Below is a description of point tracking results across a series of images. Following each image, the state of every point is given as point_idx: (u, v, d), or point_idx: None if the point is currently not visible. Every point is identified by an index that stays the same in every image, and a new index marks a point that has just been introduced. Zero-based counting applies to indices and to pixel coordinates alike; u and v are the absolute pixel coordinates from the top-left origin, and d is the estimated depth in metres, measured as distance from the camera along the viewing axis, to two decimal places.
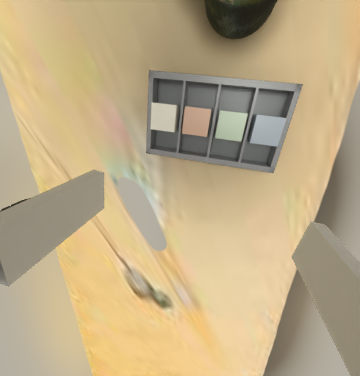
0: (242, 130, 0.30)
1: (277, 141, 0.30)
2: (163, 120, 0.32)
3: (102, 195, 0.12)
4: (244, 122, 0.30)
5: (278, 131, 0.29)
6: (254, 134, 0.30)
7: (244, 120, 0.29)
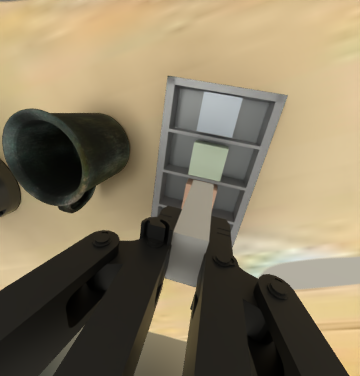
0: (214, 148, 0.23)
1: (235, 99, 0.21)
2: None
3: None
4: (204, 146, 0.23)
5: (220, 99, 0.21)
6: (221, 132, 0.22)
7: (202, 146, 0.23)
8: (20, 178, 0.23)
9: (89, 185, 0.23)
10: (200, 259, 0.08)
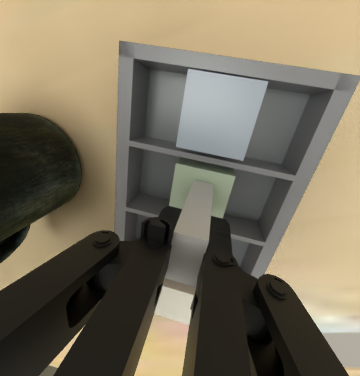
0: (210, 173, 0.13)
1: (251, 84, 0.10)
2: (178, 306, 0.18)
3: None
4: (193, 170, 0.13)
5: (222, 86, 0.10)
6: (223, 150, 0.11)
7: (189, 170, 0.13)
8: None
9: None
10: (200, 259, 0.08)
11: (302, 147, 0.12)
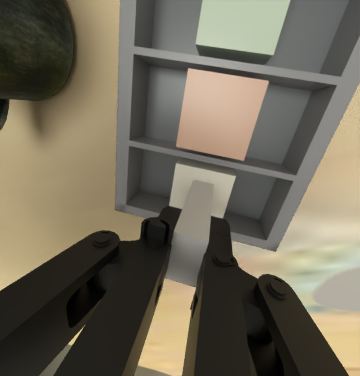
0: None
1: None
2: None
3: None
4: None
5: None
6: None
7: None
8: None
9: None
10: (200, 259, 0.08)
11: None
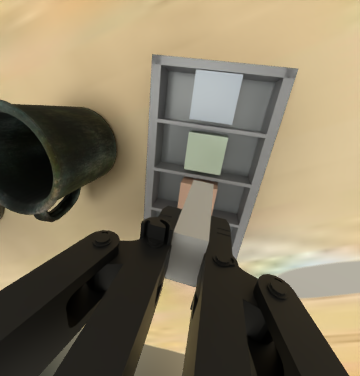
0: (211, 137, 0.20)
1: (233, 76, 0.17)
2: None
3: None
4: (200, 135, 0.20)
5: (216, 78, 0.17)
6: (219, 118, 0.18)
7: (197, 135, 0.21)
8: None
9: (65, 189, 0.19)
10: (200, 259, 0.08)
11: (270, 116, 0.19)
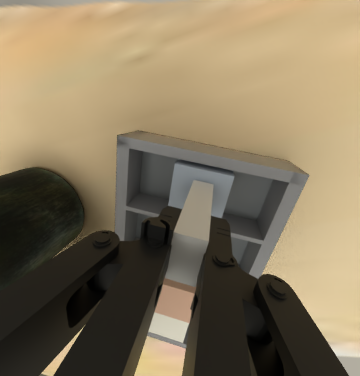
0: None
1: (222, 177, 0.13)
2: (172, 327, 0.21)
3: None
4: None
5: (200, 176, 0.13)
6: None
7: None
8: None
9: None
10: (200, 259, 0.08)
11: (269, 217, 0.15)
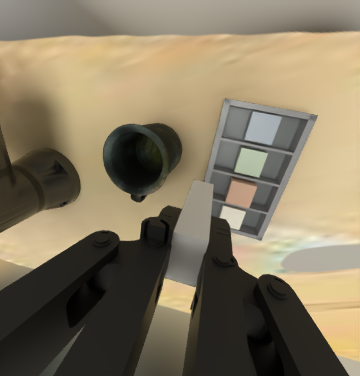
0: (256, 152, 0.31)
1: (276, 117, 0.28)
2: (234, 218, 0.36)
3: None
4: (249, 150, 0.31)
5: (265, 117, 0.29)
6: (264, 140, 0.30)
7: (247, 150, 0.31)
8: (111, 174, 0.30)
9: None
10: (200, 259, 0.08)
11: (297, 141, 0.30)
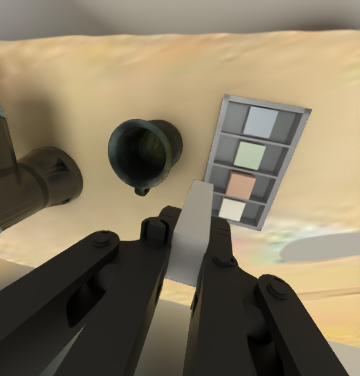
0: (255, 145, 0.32)
1: (272, 111, 0.30)
2: (234, 210, 0.38)
3: None
4: (248, 144, 0.33)
5: (262, 112, 0.30)
6: (261, 134, 0.32)
7: (246, 144, 0.33)
8: (116, 168, 0.31)
9: None
10: (200, 259, 0.08)
11: (292, 134, 0.31)
